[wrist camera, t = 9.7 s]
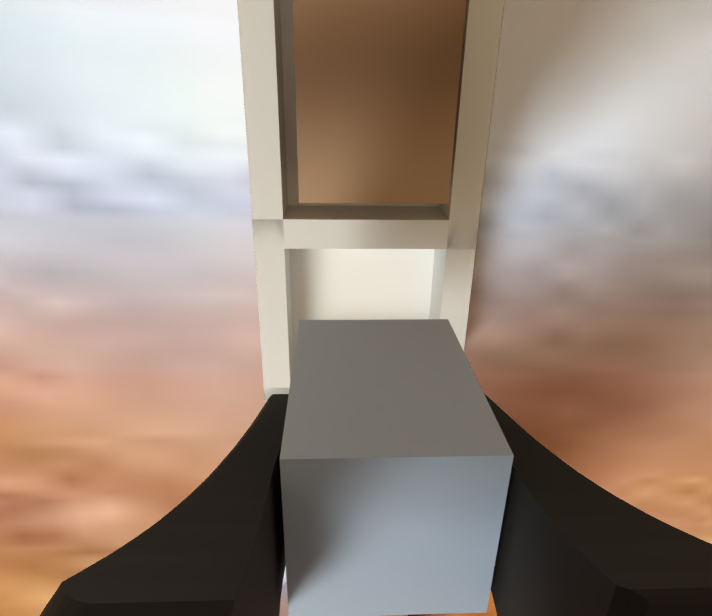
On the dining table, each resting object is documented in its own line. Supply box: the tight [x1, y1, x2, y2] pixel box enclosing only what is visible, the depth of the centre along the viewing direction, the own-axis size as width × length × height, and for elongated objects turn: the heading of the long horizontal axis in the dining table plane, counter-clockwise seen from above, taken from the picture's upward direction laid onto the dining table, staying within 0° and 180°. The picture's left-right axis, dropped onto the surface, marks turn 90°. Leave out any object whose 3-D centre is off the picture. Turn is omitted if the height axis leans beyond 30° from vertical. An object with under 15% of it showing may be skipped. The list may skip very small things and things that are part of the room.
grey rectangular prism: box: [280, 319, 514, 616], centre depth 12 cm, size 4×4×6 cm
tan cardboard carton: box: [293, 0, 466, 204], centre depth 15 cm, size 6×4×5 cm, turn 179°
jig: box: [237, 0, 504, 403], centre depth 18 cm, size 16×8×3 cm, turn 179°
